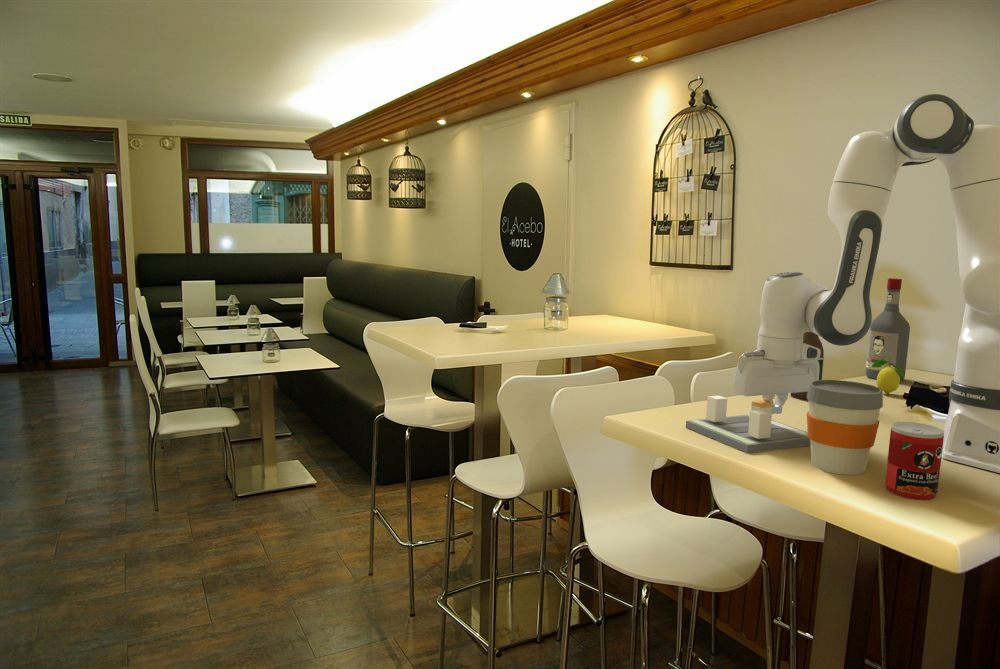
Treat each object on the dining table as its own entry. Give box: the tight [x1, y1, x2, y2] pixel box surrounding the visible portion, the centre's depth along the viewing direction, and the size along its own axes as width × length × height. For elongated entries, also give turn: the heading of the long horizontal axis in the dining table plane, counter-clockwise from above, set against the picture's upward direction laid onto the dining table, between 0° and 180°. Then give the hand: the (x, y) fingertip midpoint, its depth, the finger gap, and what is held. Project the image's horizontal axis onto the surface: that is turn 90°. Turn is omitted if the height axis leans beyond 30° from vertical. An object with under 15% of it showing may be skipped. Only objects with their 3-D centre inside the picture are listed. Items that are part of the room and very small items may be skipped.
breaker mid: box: [750, 399, 774, 413], centre depth 153 cm, size 3×3×5 cm
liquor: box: [864, 277, 911, 381], centre depth 217 cm, size 9×9×30 cm
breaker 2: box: [748, 410, 773, 439], centre depth 145 cm, size 3×3×5 cm
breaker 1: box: [705, 395, 728, 422], centre depth 157 cm, size 3×3×5 cm
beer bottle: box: [790, 332, 825, 401], centre depth 189 cm, size 8×8×24 cm
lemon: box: [871, 358, 906, 395], centre depth 196 cm, size 7×6×10 cm
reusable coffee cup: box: [806, 379, 884, 476], centre depth 133 cm, size 12×13×15 cm
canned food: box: [884, 421, 944, 501], centre depth 121 cm, size 8×8×11 cm
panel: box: [685, 414, 811, 454], centre depth 153 cm, size 19×19×2 cm
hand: (773, 413), depth 155 cm, fingers closed
